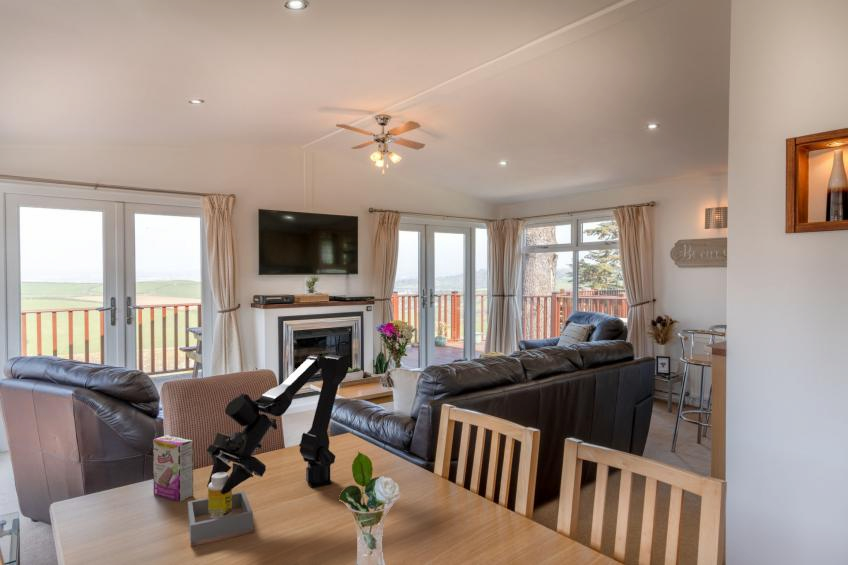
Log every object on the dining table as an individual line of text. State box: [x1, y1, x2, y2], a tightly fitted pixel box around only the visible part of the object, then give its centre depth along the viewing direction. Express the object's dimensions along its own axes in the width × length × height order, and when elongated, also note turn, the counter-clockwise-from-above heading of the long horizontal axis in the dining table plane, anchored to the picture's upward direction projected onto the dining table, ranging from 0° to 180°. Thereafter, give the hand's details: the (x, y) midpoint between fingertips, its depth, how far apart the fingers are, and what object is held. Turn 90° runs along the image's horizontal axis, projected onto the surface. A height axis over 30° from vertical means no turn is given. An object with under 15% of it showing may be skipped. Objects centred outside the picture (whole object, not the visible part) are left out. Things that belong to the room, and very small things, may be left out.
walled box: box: [187, 490, 254, 547], centre depth 129 cm, size 14×14×5 cm
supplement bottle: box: [207, 472, 233, 519], centre depth 129 cm, size 6×6×10 cm
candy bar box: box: [152, 434, 194, 503], centre depth 146 cm, size 11×5×16 cm, turn 65°
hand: (215, 490), depth 127 cm, fingers closed on supplement bottle, 6 cm apart
